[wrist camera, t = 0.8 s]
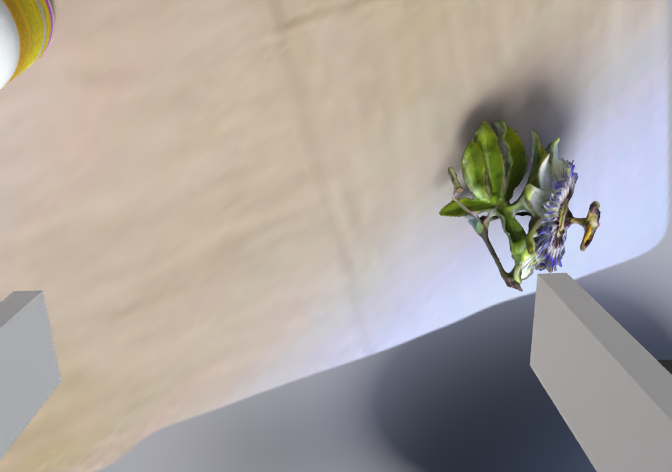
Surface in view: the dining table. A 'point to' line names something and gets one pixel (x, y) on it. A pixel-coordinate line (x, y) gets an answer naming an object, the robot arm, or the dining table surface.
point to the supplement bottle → (23, 35)
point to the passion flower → (519, 199)
